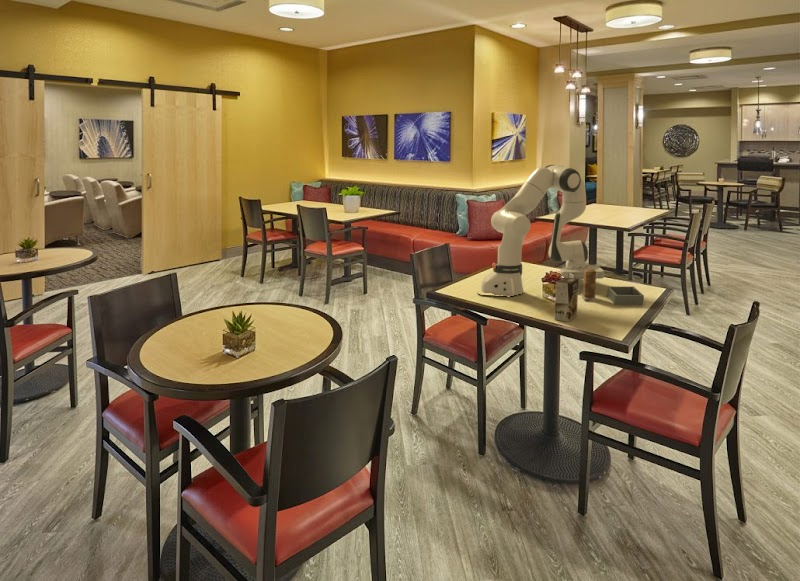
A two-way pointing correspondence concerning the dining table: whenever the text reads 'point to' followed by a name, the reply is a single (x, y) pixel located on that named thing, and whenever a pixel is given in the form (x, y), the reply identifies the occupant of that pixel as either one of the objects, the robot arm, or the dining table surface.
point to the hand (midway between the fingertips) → (584, 277)
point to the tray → (625, 295)
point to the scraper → (589, 285)
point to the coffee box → (566, 299)
